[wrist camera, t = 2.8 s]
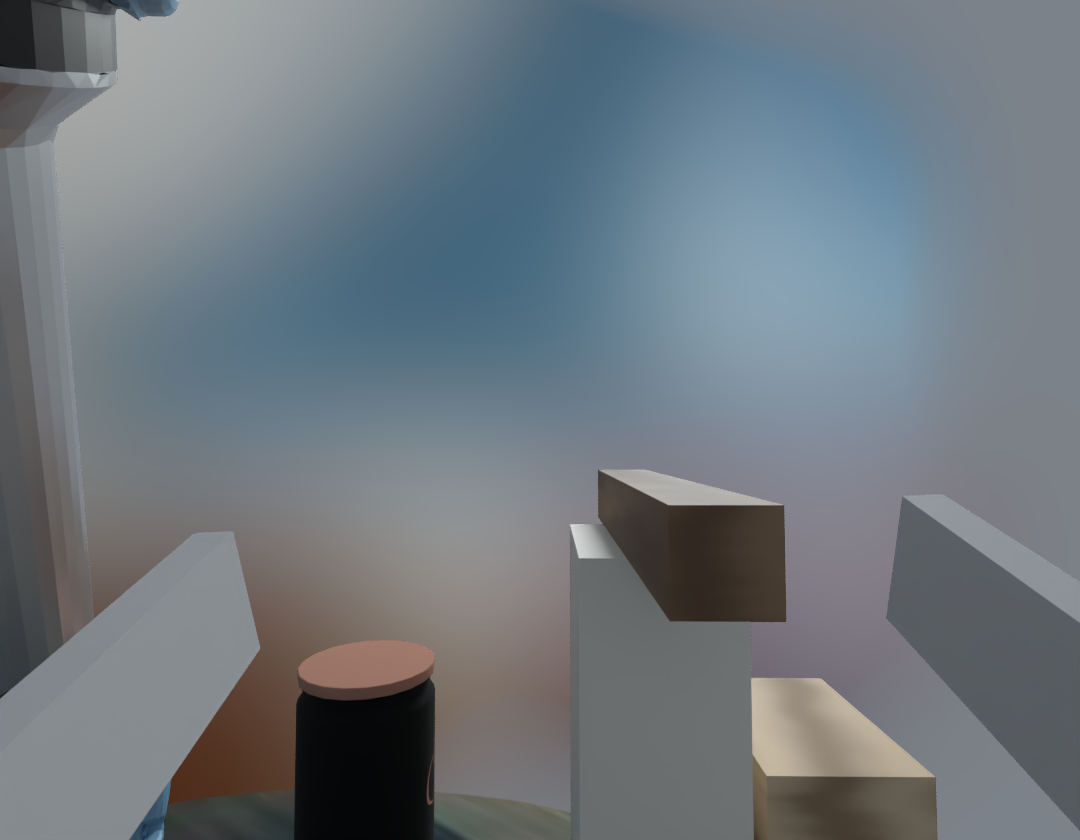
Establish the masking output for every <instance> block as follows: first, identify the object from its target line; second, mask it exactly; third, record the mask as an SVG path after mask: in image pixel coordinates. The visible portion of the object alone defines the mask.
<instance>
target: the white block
mask: <svg viewBox="0 0 1080 840" xmlns="http://www.w3.org/2000/svg"><path fill="white" fill-rule="evenodd" d="M750 633H751V631H750V622H688V621H669V619H668V618H667V617H666V615H665V614H664V612H663V611H662V609H661V608H660V606H659V605H658V603H657V602H656V600H655V599H654V598H653V596H652V595H651V593H650V592H649V590H648V589H647V587H646V586H645V584H644V583H643V582H642V580H641V579H640V577H639V576H638V574H637V573H636V571H635V570H634V568H633V567H632V565H631V564H630V563H629V561H628V560H627V558H626V557H625V555H624V554H623V552H622V551H621V549H620V548H619V546H618V545H617V544H616V542H615V541H614V539H613V538H612V536H611V535H610V533H609V532H608V530H607V529H606V527H605V526H604V525H603V524H578V525H577V524H571V525H570V662H571V663H570V674H571V675H570V681H571V682H570V698H571V699H570V701H571V840H754V821H753V757H752V694H751V634H750Z"/></svg>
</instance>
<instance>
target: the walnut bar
mask: <svg viewBox="0 0 1080 840" xmlns="http://www.w3.org/2000/svg"><path fill="white" fill-rule="evenodd" d="M598 513H599V514H598V516H599V519H600V520H601V522H602V523H603V525H604V526H605V527H606V529H607V530H608V532H609V533H610V535H611V536H612V538H613V539H614V541H615V542H616V544H617V545H618V546H619V548H620V549H621V551H622V552H623V554H624V555H625V557H626V558H627V560H628V561H629V563H630V564H631V565H632V567H633V568H634V570H635V571H636V573H637V574H638V576H639V577H640V579H641V580H642V582H643V583H644V584H645V586H646V587H647V589H648V590H649V592H650V593H651V595H652V596H653V598H654V599H655V600H656V602H657V603H658V605H659V606H660V608H661V609H662V611H663V612H664V614H665V615H666V617H667V618H668V619H669V621H688V622H786V586H785V585H786V584H785V530H784V505H781V504H777V503H773V502H769V501H765V500H762V499H758V498H754V497H750V496H746V495H742V494H738V493H734V492H730V491H726V490H722V489H719V488H715V487H711V486H707V485H703V484H699V483H695V482H691V481H687V480H683V479H679V478H675V477H671V476H667V475H664V474H659V473H656V472H652V471H648V470H598Z"/></svg>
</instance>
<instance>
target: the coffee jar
mask: <svg viewBox="0 0 1080 840" xmlns="http://www.w3.org/2000/svg"><path fill="white" fill-rule="evenodd" d="M434 661H435V655H434V654H433V653H432V652H431V651H430V649H428V648H425V647H424V646H421V645H419V644H415V643H410V642H405V641H393V640H377V641H364V642H357V643H349V644H345V645H341V646H337V647H332V648H330V649H327V650H324V651H321V652H319V653H316V654H314V655H313V656H311V657H309V658H308V659H306V660H304V661H303V662H302V664H301V665H300V666H299V668H298V670H297V672H298V673H297V674H298V683H299V687H300V688H301V689H302V691H303V692H302V694H301V695H300V697H299V698H298V700H297V704H296V705H297V706H296V760H295V819H294V840H434V749H435V748H434V746H435V743H434V742H435V687H434V684H433V683H432V681H431V680H430V676H431V674H432V673H433V670H434Z"/></svg>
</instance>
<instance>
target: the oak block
mask: <svg viewBox="0 0 1080 840" xmlns="http://www.w3.org/2000/svg"><path fill="white" fill-rule="evenodd" d="M751 694H752V757H753V821H754V840H937V813H936V812H937V809H936V778H935V776H933V775H932V774H931V773H930V772H929V771H928V770H926V769H925V768H924V767H923V766H922V765H921V764H919V763H918V762H917V761H916V760H915V759H914V758H913V757H911V756H910V755H909V754H908V753H907V752H905V751H904V750H903V749H902V748H901V747H900V746H899V745H897V744H896V743H895V742H894V741H893V740H892V739H890V738H889V737H888V736H887V735H886V734H885V733H883V732H882V731H881V730H880V729H879V728H877V726H875V725H874V724H873V723H872V722H871V721H870V720H868V719H867V718H866V717H865V716H864V715H863V714H861V713H860V712H859V711H858V710H857V709H855V708H854V707H853V706H852V705H851V704H850V703H849V702H847V701H846V700H845V699H844V698H843V697H842V696H840V695H839V694H838V693H837V692H836V691H835V690H833V689H832V688H831V687H830V686H829V685H827V684H826V683H825V682H824V681H823V680H822V679H820V678H751Z"/></svg>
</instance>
